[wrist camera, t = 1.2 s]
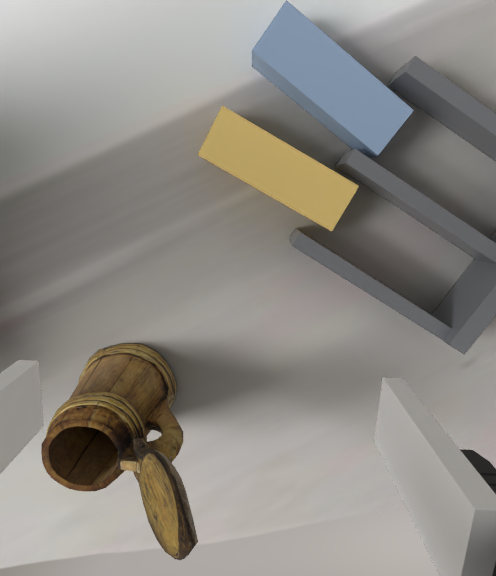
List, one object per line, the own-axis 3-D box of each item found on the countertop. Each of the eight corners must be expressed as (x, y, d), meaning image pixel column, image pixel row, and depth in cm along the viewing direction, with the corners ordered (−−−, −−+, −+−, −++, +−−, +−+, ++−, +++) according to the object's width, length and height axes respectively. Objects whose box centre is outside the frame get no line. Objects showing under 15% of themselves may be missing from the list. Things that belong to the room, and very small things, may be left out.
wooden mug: (218, 432, 41) (192, 614, 23) (83, 422, 41) (-44, 596, 23) (224, 349, 39) (200, 480, 21) (82, 338, 39) (-59, 460, 21)
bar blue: (252, 67, 33) (252, 50, 29) (282, 23, 33) (286, 0, 29) (364, 159, 35) (377, 155, 31) (395, 119, 34) (413, 110, 30)
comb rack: (288, 239, 36) (293, 247, 31) (396, 71, 33) (421, 51, 28) (437, 333, 38) (464, 354, 33) (553, 183, 35) (602, 182, 30)
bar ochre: (204, 158, 35) (197, 154, 31) (225, 115, 34) (222, 105, 30) (323, 227, 36) (331, 231, 32) (347, 186, 35) (359, 186, 32)
